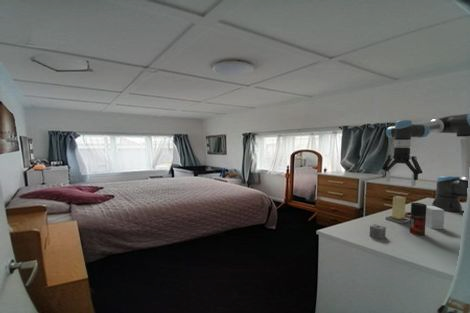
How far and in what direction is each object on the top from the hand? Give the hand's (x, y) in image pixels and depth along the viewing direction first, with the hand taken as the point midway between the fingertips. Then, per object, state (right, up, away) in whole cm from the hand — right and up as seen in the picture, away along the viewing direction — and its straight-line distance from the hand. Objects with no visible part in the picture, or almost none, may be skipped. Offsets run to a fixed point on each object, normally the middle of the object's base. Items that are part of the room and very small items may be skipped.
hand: (400, 183), depth 128 cm
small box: (+12, -23, -7) cm, 27 cm away
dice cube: (-27, -24, -21) cm, 42 cm away
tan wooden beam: (0, -22, +1) cm, 22 cm away
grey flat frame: (+7, -22, +5) cm, 23 cm away
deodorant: (-4, -23, -17) cm, 29 cm away
